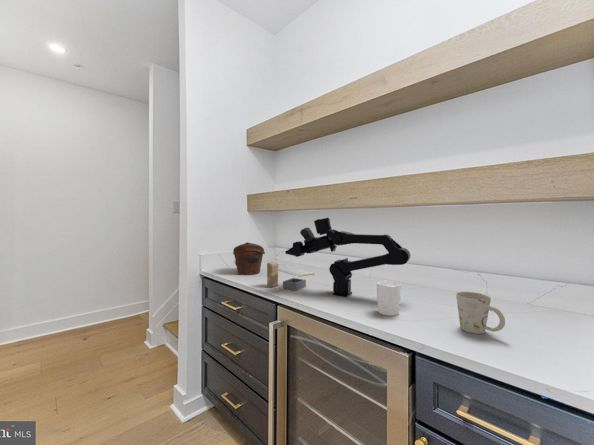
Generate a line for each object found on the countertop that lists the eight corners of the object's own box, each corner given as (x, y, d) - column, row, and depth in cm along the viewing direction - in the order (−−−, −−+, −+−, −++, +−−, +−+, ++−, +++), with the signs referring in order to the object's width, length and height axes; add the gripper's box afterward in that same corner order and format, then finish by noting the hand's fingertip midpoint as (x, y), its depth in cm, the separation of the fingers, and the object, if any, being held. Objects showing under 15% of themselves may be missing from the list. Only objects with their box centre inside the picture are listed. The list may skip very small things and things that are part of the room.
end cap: (305, 286, 129) (305, 279, 129) (296, 290, 122) (296, 283, 122) (293, 284, 133) (293, 277, 133) (282, 288, 126) (282, 281, 126)
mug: (466, 322, 85) (466, 290, 85) (513, 338, 74) (514, 301, 74) (449, 327, 81) (450, 293, 81) (497, 344, 70) (497, 305, 70)
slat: (277, 285, 131) (278, 262, 131) (272, 287, 127) (272, 263, 127) (272, 284, 132) (272, 261, 132) (267, 286, 129) (267, 263, 128)
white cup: (378, 316, 91) (378, 285, 91) (374, 308, 98) (375, 280, 98) (403, 317, 90) (403, 286, 89) (397, 309, 97) (398, 281, 97)
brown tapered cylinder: (249, 268, 175) (249, 240, 174) (271, 272, 162) (271, 242, 161) (225, 273, 161) (225, 242, 161) (247, 278, 148) (247, 244, 148)
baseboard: (297, 278, 150) (314, 275, 158) (297, 273, 150) (314, 270, 157) (268, 269, 175) (284, 267, 182) (268, 264, 175) (284, 263, 182)
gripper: (323, 225, 131) (295, 233, 138) (306, 226, 114) (275, 235, 121) (329, 248, 129) (301, 255, 136) (312, 252, 113) (281, 260, 120)
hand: (290, 251), depth 129 cm, fingers open, 9 cm apart
